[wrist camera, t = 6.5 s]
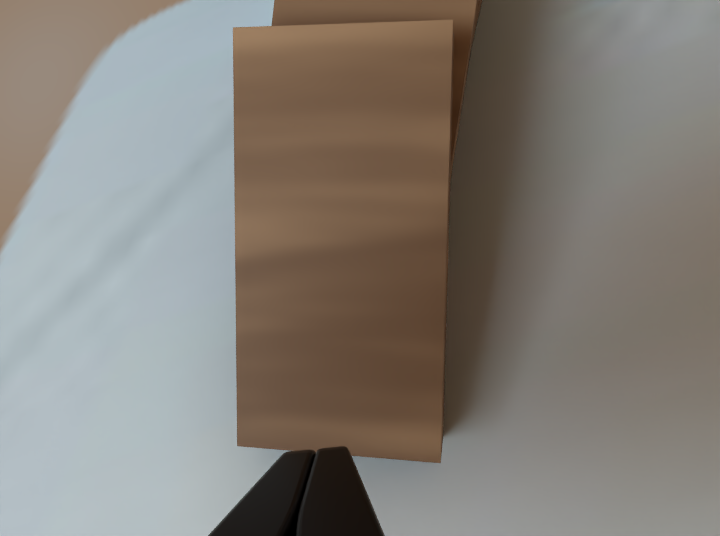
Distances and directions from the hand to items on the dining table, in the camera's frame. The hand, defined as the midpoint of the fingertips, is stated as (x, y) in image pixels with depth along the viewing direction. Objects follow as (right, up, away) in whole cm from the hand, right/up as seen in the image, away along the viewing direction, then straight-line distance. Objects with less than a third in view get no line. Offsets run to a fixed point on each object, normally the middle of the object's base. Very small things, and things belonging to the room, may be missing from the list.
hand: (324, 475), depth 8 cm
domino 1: (0, -2, +8) cm, 8 cm away
